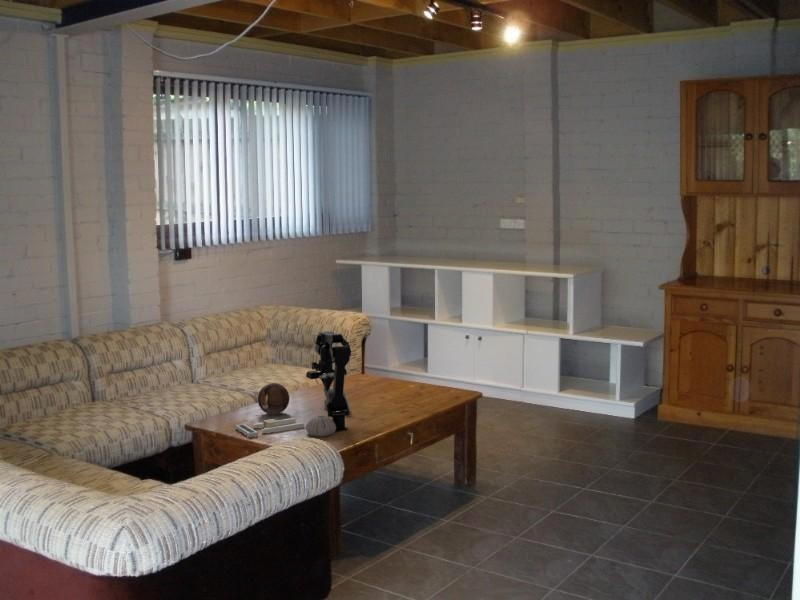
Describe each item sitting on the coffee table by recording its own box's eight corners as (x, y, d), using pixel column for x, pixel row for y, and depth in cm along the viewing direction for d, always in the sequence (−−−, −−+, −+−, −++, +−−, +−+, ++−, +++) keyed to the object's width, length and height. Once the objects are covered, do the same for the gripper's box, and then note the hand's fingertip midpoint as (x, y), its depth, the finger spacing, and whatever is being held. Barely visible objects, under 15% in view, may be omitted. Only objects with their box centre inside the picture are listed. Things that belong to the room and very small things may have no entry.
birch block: (278, 430, 404) (278, 421, 403) (267, 431, 401) (267, 423, 401) (273, 427, 408) (273, 418, 408) (263, 429, 405) (263, 420, 405)
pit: (257, 436, 393) (257, 432, 393) (249, 438, 391) (249, 433, 391) (244, 428, 407) (244, 423, 406) (235, 429, 405) (235, 425, 404)
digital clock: (351, 412, 434) (351, 390, 433) (334, 414, 430) (333, 392, 429) (337, 404, 448) (337, 383, 447) (320, 407, 444) (320, 385, 443)
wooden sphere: (278, 408, 442) (277, 378, 440) (295, 414, 431) (295, 383, 429) (252, 413, 432) (251, 383, 430) (269, 419, 421) (268, 388, 419)
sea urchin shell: (341, 431, 401) (341, 413, 400) (328, 439, 389) (327, 421, 387) (314, 428, 406) (314, 411, 405) (300, 436, 393) (300, 418, 392)
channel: (304, 427, 407) (304, 423, 407) (263, 434, 397) (262, 429, 397) (294, 422, 417) (293, 417, 416) (253, 428, 406) (253, 424, 406)
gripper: (336, 353, 431) (336, 385, 433) (300, 357, 421) (301, 390, 423) (347, 357, 421) (347, 390, 423) (311, 361, 412) (311, 395, 414)
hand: (327, 391), depth 421 cm, fingers closed
